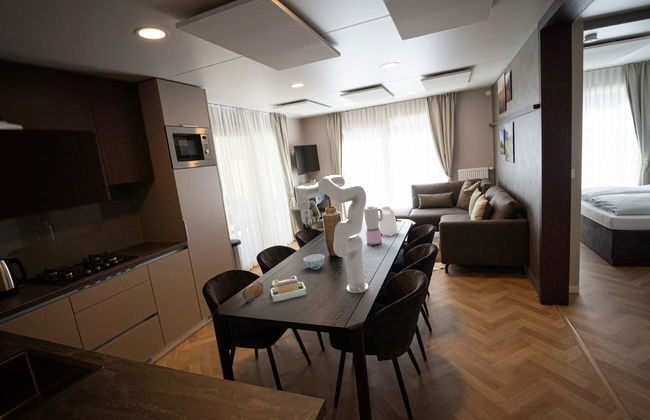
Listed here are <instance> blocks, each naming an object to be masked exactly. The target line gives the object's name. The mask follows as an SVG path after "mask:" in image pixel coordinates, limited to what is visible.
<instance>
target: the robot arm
mask: <svg viewBox="0 0 650 420" xmlns="http://www.w3.org/2000/svg"><path fill="white" fill-rule="evenodd" d="M295 193H296V201H297V208H298V210H300V216H301V222H302V227H303V231H305V232H306V234H312V225H311V223H312V221H313V220H312V216H311V211H310V208H311V205H310V199H312V198H317V197H321V196H323V195H326V196H327V197H329V198H330V199H331V200H333V201H334V202H335V203H337V204H345V203H347V202H351V203H350V205H349V207H348V210H347V217H346V219H344V220H340V221H339V222H337V223H336V225H335V226H334V233H333V252H334V253H335V255H336V256H338V258H339V257H340V258H344V257H345V266H346V273H347V282H348V284H347V286H346V291H347V292H348V293H350V294H351V293H352V294H361V293H364V292H366V291H368V290H369V285H368V283H366V280H365V277H366V276H365V269H364V268H365V267H364V259H363V245H364V244H363V240H362V238H361V236H360V235H358V234H360V233H361V231H362V229H363V221H364V217H365V215H364V209H365V208H366V205H367V194H366V190H365V189H364V188H363V187H362V185H360V184H355V183H352V184H347V185H345V179H344V177H343V176H342V175H339V174H334V175H333V174H332V175H328V176H323V177H322V178H321V179H320V180H319V181H318V183H316V184H313V185H309V186H308V185H307V186H305V185H304V186H303V185H302V186H297V187H296V188H295Z"/></svg>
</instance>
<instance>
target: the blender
mask: <svg viewBox="0 0 650 420" xmlns="http://www.w3.org/2000/svg"><path fill="white" fill-rule="evenodd" d="M379 215H380V219H379ZM382 219H383V217H382V209H381V208H378V207H377V206H374V205H369V206H367V207H365V209H364V220H365V221H364V222H365V225H366V231H365V233H366V234H365V236H366V244H367V245H369V247H372V246H373V245H374V246H375V245H382V242H383V241H382V237H383V235H382V233H381V232H380V224H379V221H381V220H382Z"/></svg>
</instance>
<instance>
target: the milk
mask: <svg viewBox="0 0 650 420" xmlns="http://www.w3.org/2000/svg"><path fill="white" fill-rule="evenodd" d="M381 210H382V217H383V219H382V220H381V221H379V230H380V232H381V233H382V236H385V235H387V236H389V237H392V235H393V236H394V235H396V234H398V227H397V218H396V213H395V212H394V211H393V210H392V209H391V207H390V205H383V206H382V209H381ZM378 215H379V219H380V214H378Z"/></svg>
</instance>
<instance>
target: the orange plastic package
mask: <svg viewBox="0 0 650 420" xmlns="http://www.w3.org/2000/svg"><path fill="white" fill-rule="evenodd" d="M263 292H264V284H263V282H260V281H254V282H253V283H251V284H250V285H248V286H246V287H245V288H244V289H243V290H242V295H241V297H242V299H243V300H244V301H245V302H249V303H251V302H252V301H253V299H254V298H255V297H257V296H258V295H261V294H263Z"/></svg>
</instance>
